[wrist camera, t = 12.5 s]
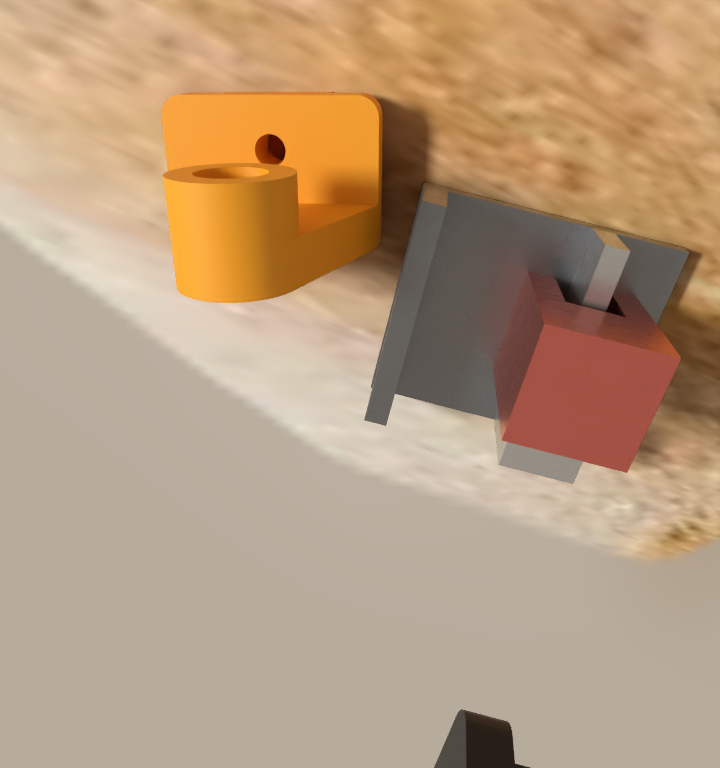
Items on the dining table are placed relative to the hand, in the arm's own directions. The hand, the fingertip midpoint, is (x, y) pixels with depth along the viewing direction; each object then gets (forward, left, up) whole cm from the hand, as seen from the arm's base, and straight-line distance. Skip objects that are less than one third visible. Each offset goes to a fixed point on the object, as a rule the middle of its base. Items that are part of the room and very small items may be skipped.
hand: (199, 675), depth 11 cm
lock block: (+3, +11, -29) cm, 31 cm away
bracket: (-2, -6, -30) cm, 31 cm away
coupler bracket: (+3, +8, -30) cm, 31 cm away
